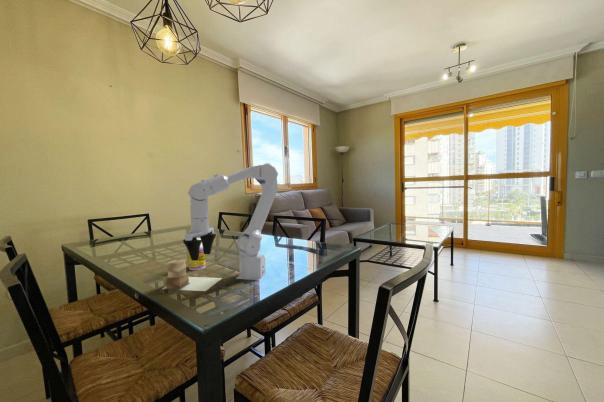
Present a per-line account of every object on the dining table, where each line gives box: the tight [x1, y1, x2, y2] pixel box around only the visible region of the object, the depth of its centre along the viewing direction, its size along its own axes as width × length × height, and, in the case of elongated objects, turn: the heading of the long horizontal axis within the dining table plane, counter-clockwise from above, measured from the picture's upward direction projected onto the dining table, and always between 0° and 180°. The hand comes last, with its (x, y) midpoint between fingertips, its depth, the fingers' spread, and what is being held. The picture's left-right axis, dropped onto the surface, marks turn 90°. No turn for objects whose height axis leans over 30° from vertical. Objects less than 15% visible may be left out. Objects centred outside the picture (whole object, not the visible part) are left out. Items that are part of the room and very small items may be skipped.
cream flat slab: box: [161, 276, 223, 292], centre depth 89 cm, size 16×12×1 cm
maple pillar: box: [166, 259, 187, 278], centre depth 86 cm, size 4×4×5 cm
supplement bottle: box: [187, 237, 207, 271], centre depth 107 cm, size 7×7×13 cm
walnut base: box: [165, 273, 190, 290], centre depth 86 cm, size 5×5×4 cm
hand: (201, 257), depth 87 cm, fingers open, 7 cm apart
